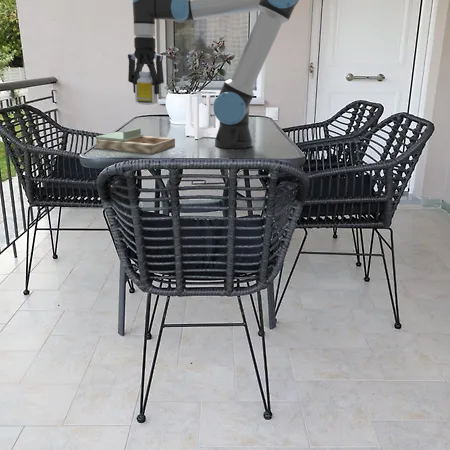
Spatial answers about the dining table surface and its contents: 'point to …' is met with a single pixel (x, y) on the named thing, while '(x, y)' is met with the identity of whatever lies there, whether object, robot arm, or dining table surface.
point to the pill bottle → (144, 88)
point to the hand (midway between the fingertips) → (146, 102)
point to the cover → (122, 135)
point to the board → (138, 144)
